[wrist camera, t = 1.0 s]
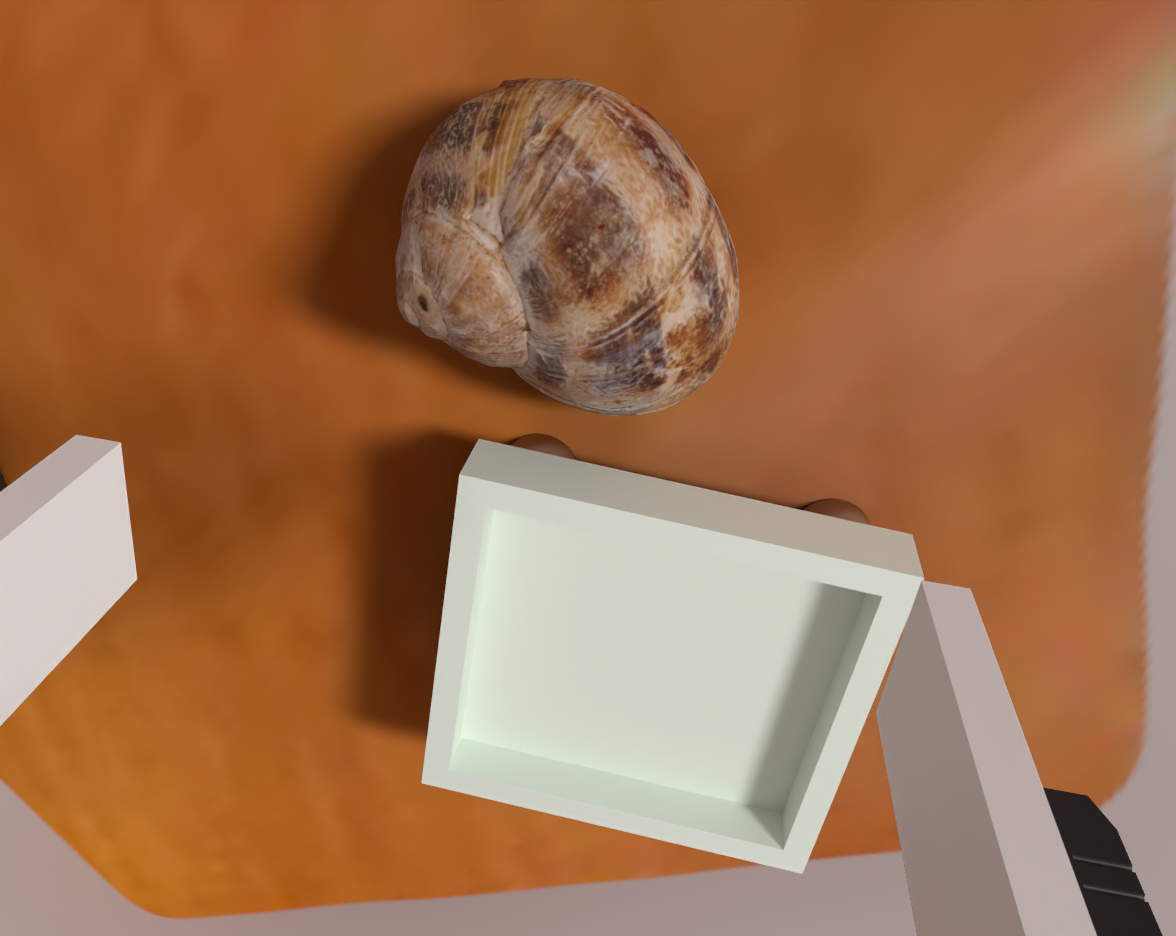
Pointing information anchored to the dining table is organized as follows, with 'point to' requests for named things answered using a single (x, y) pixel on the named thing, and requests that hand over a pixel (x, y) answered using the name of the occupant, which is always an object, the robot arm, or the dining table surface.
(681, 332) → the seashell
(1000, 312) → the dining table surface
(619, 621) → the shallow white square tray
